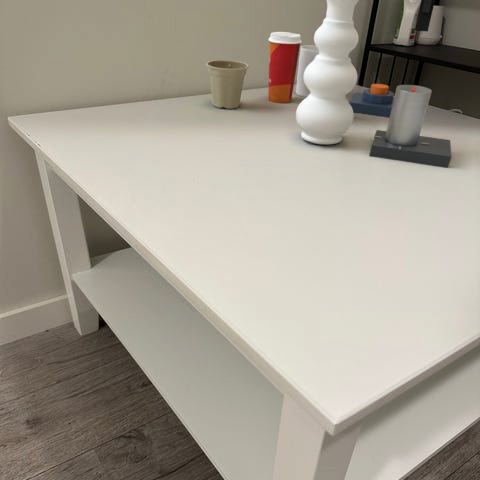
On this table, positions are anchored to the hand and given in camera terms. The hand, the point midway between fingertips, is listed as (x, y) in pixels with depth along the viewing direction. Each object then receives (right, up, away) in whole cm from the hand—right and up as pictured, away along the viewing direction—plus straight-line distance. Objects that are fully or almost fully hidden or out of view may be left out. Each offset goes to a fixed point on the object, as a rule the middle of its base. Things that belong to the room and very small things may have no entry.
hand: (421, 30), depth 103 cm
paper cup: (-30, -9, +14) cm, 34 cm away
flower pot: (-42, -13, +8) cm, 45 cm away
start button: (-7, -10, +8) cm, 15 cm away
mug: (-19, -5, +20) cm, 28 cm away
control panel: (-7, -31, -13) cm, 34 cm away
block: (-7, -13, +10) cm, 18 cm away
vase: (-23, -27, -9) cm, 37 cm away
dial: (-9, -29, -13) cm, 33 cm away
